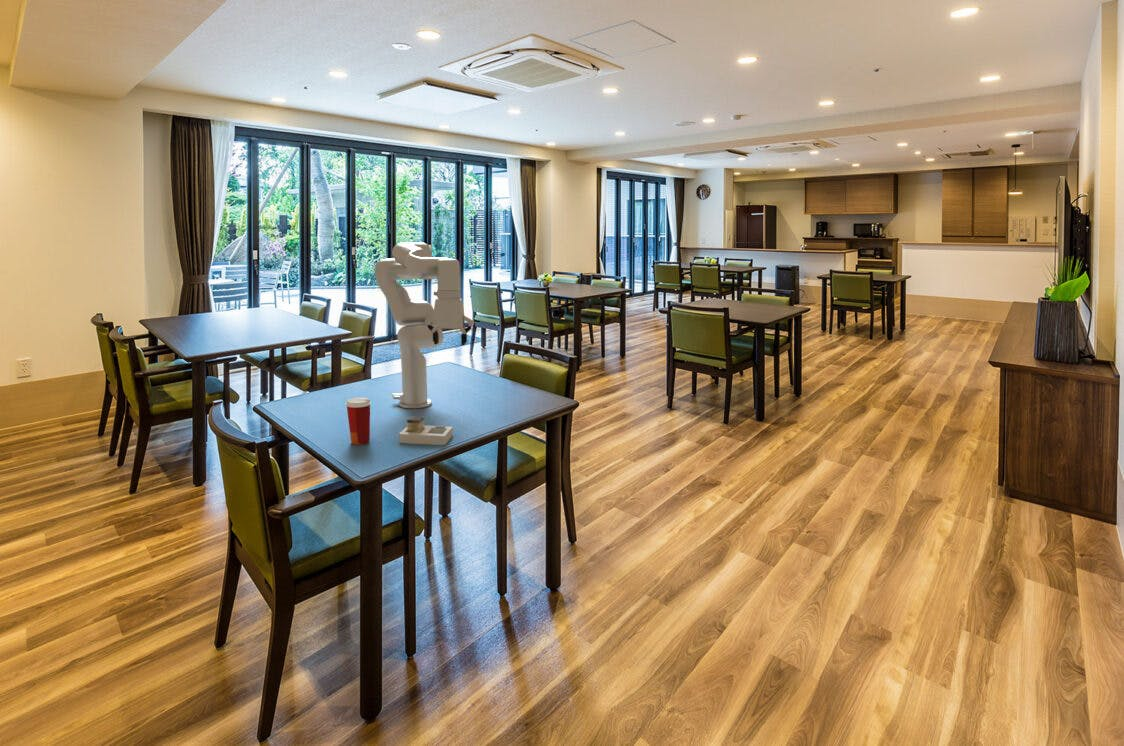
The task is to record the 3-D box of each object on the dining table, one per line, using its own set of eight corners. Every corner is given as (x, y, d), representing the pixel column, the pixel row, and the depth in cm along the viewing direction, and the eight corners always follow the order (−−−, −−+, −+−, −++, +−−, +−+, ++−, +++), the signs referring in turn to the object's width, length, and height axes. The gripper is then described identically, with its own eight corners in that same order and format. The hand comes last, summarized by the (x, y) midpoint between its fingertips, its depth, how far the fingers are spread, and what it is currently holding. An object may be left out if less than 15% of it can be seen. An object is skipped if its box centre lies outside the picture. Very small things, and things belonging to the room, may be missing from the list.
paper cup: (375, 438, 202) (373, 397, 199) (369, 446, 195) (367, 403, 192) (351, 438, 202) (349, 396, 199) (344, 445, 194) (341, 403, 191)
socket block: (399, 442, 198) (398, 433, 197) (409, 433, 208) (409, 423, 207) (444, 445, 197) (444, 435, 196) (452, 435, 207) (452, 425, 206)
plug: (407, 440, 201) (406, 419, 199) (411, 436, 205) (411, 416, 203) (419, 440, 200) (419, 420, 199) (423, 437, 204) (423, 416, 203)
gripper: (421, 295, 209) (422, 345, 212) (471, 296, 207) (471, 346, 211) (427, 293, 216) (429, 341, 220) (476, 294, 215) (476, 343, 218)
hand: (449, 344), depth 215 cm, fingers open, 9 cm apart
